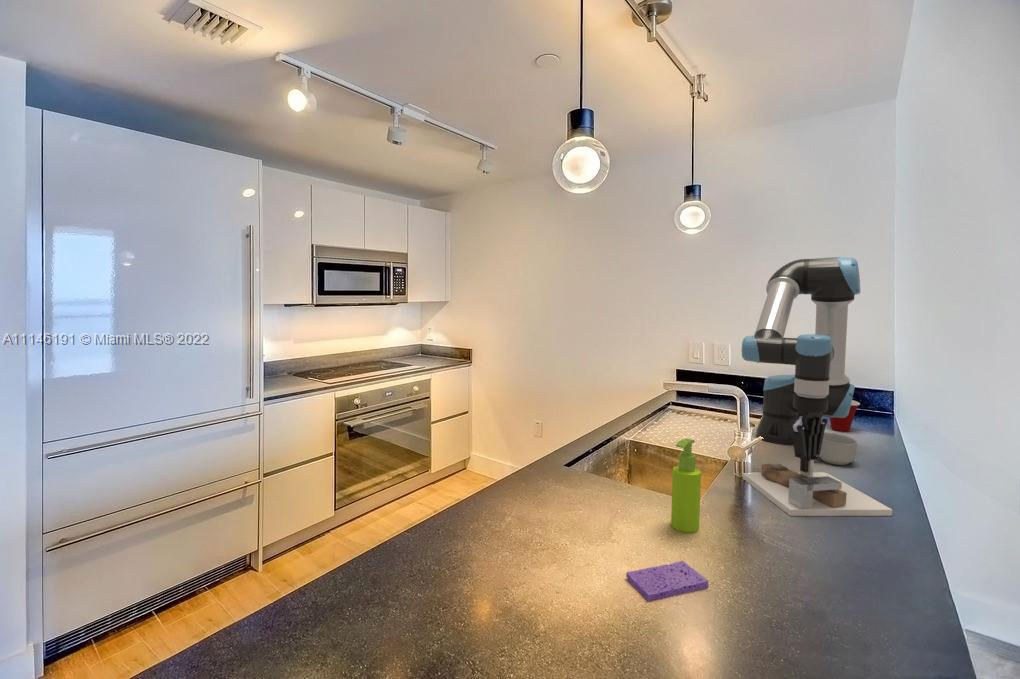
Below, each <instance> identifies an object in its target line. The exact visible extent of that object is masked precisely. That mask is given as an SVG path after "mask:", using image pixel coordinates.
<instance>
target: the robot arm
mask: <svg viewBox="0 0 1020 679" xmlns="http://www.w3.org/2000/svg"><path fill="white" fill-rule="evenodd" d="M765 291H766V294H767V295H766V299H765V300H764V304H763V308H762V311H761V313H760V316H759V319H758V322H757V326H756V329H755V331H754V335H746V336H745V337H744V338H743V340H742V343H741V357H742V359H743V360H745V361H746V362H751V363H752V362H753V363H757V364H759V363H762V364H774V365H775V364H778V365H791V366H795V370H794V372H795V373H794V374H779V375H778V374H776V375H771V376H768V377H766V378H765V379H764V384H763V389H762V391H763V397H762V398H763V400H762V415H761V418H760V420H759V423H758V425H757V428H756V432H755V433H756V434H755V436H756V437H757V438H758V437H759V436H761V437H763V438H764V439H763V440H762V441H766V442H769V443H773V444H781V445H790V446H791V445H793V451H794V452H793V453H794V457H795V458H798V459H800V461H799V462H800V465H799V466H800V467H799V472H800V474H801V475H804V476H806V477H813V472H814V467H815V466H814V465H815V461H818V460H819V459H820V457H819V455H820V451H821V446H822V441H823V436H824V432H826V428H827V425H828V421H829V420H828V419H827V418H825V417H828V418H830V417H838V418H845V417H847V416H848V414H849V411H850V407H851V402H852V400H853V396H854V393H855V387H856V386H855V385H854V384H852V383H850V381H851V379H850V378H849V377H848V376H847V375H846V374H845V373H846V372H845V371H846V370H845V369H846V352H847V351H846V350H847V335H848V334H847V332H848V331H847V330H848V313H849V312H848V310H849V305H850V304H851V303H852V302H853V301H855V295H856V296H857V295H860V294H861V279H860V270H859V264H858V260H857V259H856V258H854V257H848V256H847V257H845V256H844V257H842V256H836V257H821V258H820V257H819V258H800V259H797V260H793V261H790V262H788V263H786V264H785V265H783V266H781V267H780V268H778V269H777V270H776V271H775V272H774V273H773V274H772V276H771V277H770V278H769V279H768V281H767V284H766V287H765ZM799 295H810V300H811V301H812V302H813V303H814V304H815V328H814V330H815V332H814V334H813V333H812V334H808V333H806V334H800V335H798V336H797V338H796V337H785V333H786V330H787V325H788V322H789V319H790V318H789V317H790V315H791V311H792V307H793V303H794V300H795V299H796V298H797V297H798V296H799Z"/></svg>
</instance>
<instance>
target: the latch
mask: <svg viewBox="0 0 1020 679" xmlns="http://www.w3.org/2000/svg"><path fill="white" fill-rule="evenodd" d="M796 472H797V471H794V470H791V469H789V468H788V467H786V466H784V465H782V464H781V463H778V462H771V463H765V464H761V475H762V476H764V477H765V478H766V479H768V480H771V481H775V482H778V483H780V484H783V485H785V486H787V487H789V479H791V478H808V477H806V476H804V475H801V474H799V473H796ZM846 494H847V493H846V492H844V491H841V490H839V489H836V490H820V491H813V498H814V499H816V500H819V501H821V502H823V503H825V504H828V505H830V506H832V507H836V506H842V505H846Z"/></svg>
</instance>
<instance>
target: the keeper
mask: <svg viewBox="0 0 1020 679" xmlns="http://www.w3.org/2000/svg"><path fill="white" fill-rule="evenodd" d="M842 482H843V481H842ZM842 482H839V481H837V480H835V479H833V478H831V477H829V476H825V477H808V478H791V479H789V496H788V502H789V503H791V504H792V505H794V506H796V507H797V508H799V509H812V499H813V491H820V490H836V489H841V488H842Z"/></svg>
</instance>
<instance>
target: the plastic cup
mask: <svg viewBox="0 0 1020 679" xmlns="http://www.w3.org/2000/svg"><path fill="white" fill-rule="evenodd" d="M860 405H861V403H860V402H858V401H856V400H853V399H852V402H851V407H850V411H849V414H848V416H847V417H845V418H838V417H829V422H830V428H832V429H833V431H835V432H843V433H846V432H847V433H849V432H850V430H851V427H852V423H853V421H854V417H855V414H856V411H857V410H858V407H859V406H860ZM832 429H831V430H832Z"/></svg>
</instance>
